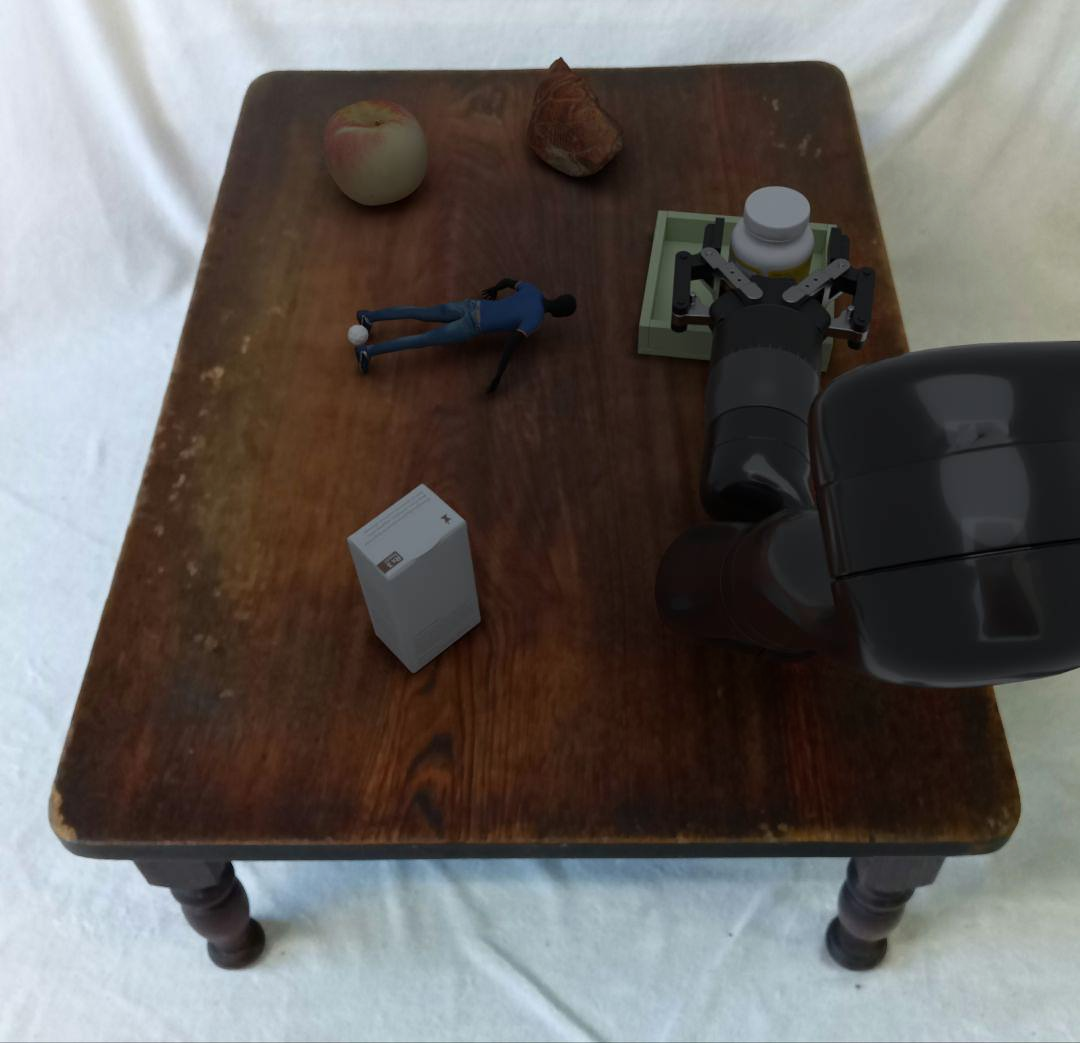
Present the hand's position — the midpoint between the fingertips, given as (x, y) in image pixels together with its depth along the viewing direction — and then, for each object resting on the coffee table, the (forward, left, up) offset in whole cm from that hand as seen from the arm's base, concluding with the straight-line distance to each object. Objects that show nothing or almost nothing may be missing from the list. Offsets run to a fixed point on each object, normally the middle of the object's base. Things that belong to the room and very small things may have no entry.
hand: (776, 231), depth 89 cm
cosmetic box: (+20, +33, -8) cm, 40 cm away
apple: (+34, -11, -8) cm, 37 cm away
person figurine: (+23, +7, -8) cm, 26 cm away
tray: (+2, -1, -8) cm, 8 cm away
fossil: (+18, -19, -8) cm, 27 cm away
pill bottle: (0, +2, -8) cm, 8 cm away
